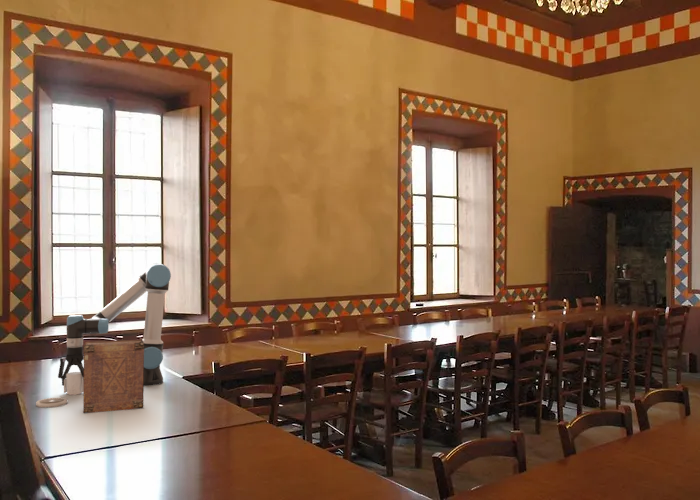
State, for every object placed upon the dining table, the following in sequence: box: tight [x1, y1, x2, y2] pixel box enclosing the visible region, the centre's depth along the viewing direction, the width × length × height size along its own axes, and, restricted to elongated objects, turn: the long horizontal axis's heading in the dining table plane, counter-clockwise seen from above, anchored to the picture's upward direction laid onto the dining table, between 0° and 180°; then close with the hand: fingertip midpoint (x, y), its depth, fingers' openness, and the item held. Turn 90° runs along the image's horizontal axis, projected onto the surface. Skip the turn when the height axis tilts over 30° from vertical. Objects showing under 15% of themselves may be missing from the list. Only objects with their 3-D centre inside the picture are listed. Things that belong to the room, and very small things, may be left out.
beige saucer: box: [35, 397, 68, 409], centre depth 293 cm, size 13×13×2 cm
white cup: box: [66, 371, 83, 396], centre depth 315 cm, size 8×8×10 cm
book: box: [82, 339, 145, 414], centre depth 285 cm, size 25×9×30 cm, turn 111°
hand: (74, 391), depth 315 cm, fingers open, 8 cm apart
